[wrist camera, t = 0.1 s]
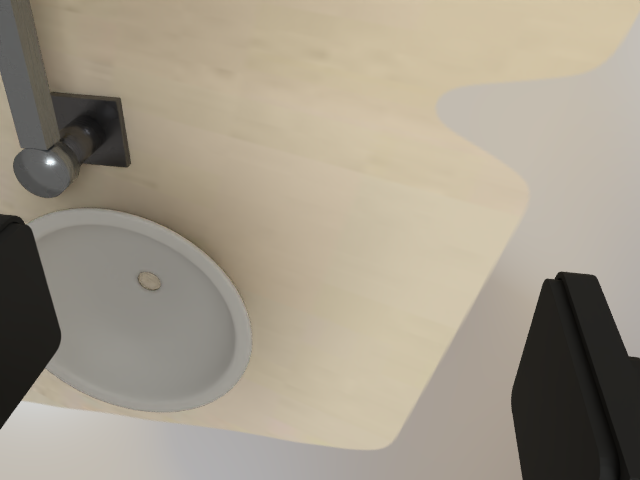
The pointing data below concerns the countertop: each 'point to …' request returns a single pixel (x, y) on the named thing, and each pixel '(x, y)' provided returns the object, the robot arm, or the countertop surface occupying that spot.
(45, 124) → the rail
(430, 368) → the countertop surface
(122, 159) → the dark grey faucet base
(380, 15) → the countertop surface
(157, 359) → the round sink basin
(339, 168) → the countertop surface
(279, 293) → the countertop surface
